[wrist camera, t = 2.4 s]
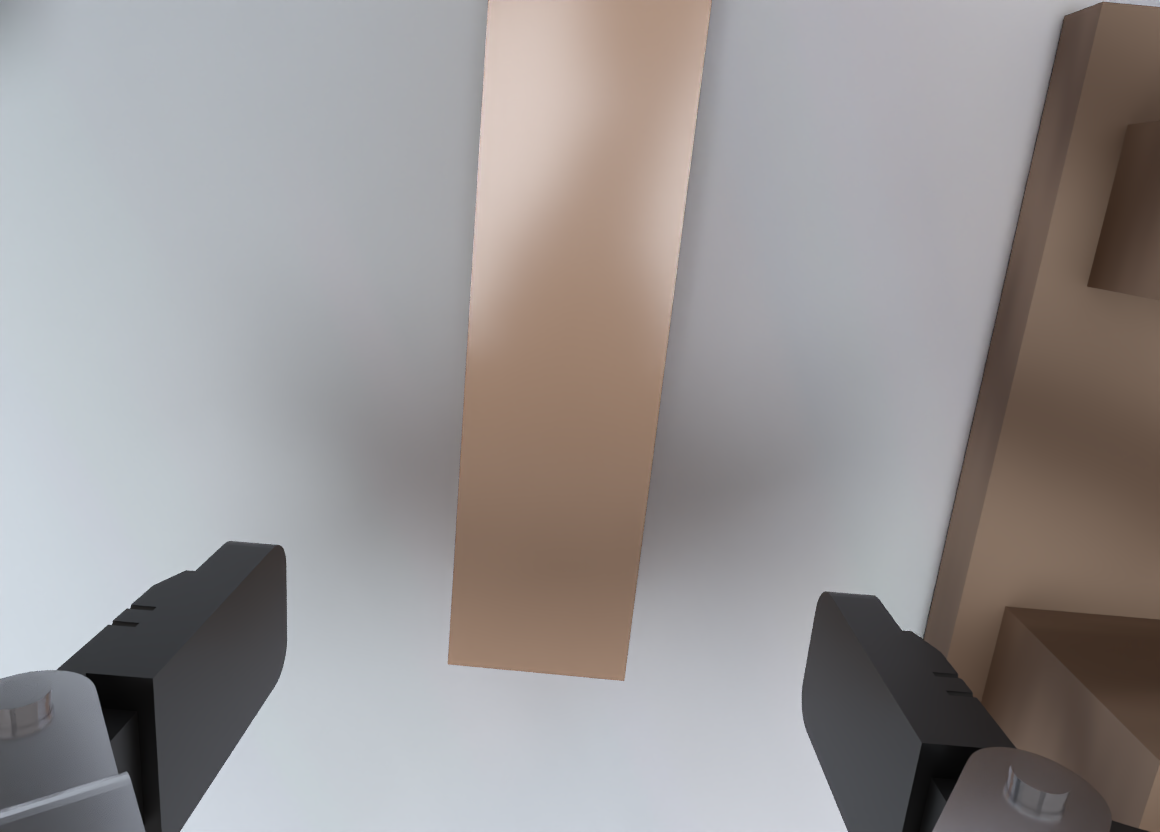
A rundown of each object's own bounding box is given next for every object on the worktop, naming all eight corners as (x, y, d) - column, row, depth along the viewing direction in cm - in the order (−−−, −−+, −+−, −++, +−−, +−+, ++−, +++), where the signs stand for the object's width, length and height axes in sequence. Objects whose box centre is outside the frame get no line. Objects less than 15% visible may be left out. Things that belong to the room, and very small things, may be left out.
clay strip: (530, -210, 15) (509, -350, 11) (711, -190, 15) (753, -322, 11) (476, 570, 19) (447, 664, 15) (617, 583, 19) (624, 680, 15)
